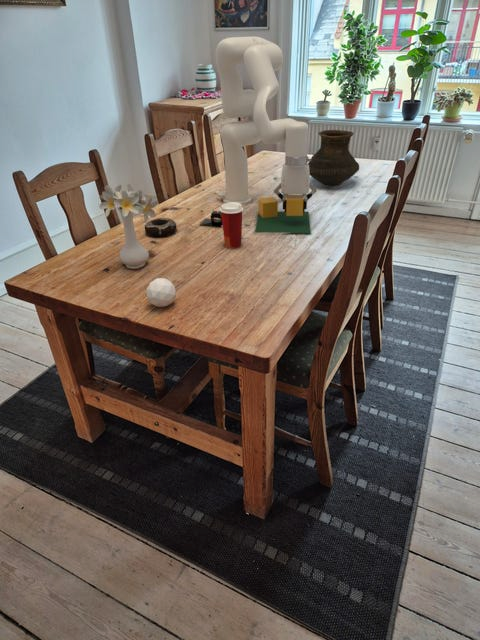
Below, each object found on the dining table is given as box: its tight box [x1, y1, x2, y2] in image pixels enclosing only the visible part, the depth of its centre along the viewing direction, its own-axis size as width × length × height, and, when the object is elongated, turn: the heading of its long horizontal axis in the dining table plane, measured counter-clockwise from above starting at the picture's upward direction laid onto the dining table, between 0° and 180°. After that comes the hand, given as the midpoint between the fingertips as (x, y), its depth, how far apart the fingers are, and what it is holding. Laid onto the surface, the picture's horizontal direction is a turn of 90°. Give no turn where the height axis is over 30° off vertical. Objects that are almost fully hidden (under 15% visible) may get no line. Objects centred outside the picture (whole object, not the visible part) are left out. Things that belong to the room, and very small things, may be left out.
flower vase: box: [98, 183, 159, 270], centre depth 135 cm, size 13×18×25 cm
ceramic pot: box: [307, 129, 360, 187], centre depth 202 cm, size 24×24×22 cm
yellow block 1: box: [257, 196, 279, 218], centre depth 173 cm, size 6×6×6 cm
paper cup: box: [219, 202, 244, 249], centre depth 149 cm, size 8×8×14 cm
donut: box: [144, 217, 177, 238], centre depth 163 cm, size 12×12×4 cm
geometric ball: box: [146, 277, 177, 308], centre depth 119 cm, size 8×8×8 cm
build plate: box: [199, 210, 223, 229], centre depth 169 cm, size 12×7×5 cm, turn 74°
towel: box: [254, 211, 312, 235], centre depth 168 cm, size 20×22×1 cm
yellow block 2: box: [286, 194, 304, 216], centre depth 162 cm, size 6×6×6 cm
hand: (294, 210), depth 163 cm, fingers closed on yellow block 2, 6 cm apart
